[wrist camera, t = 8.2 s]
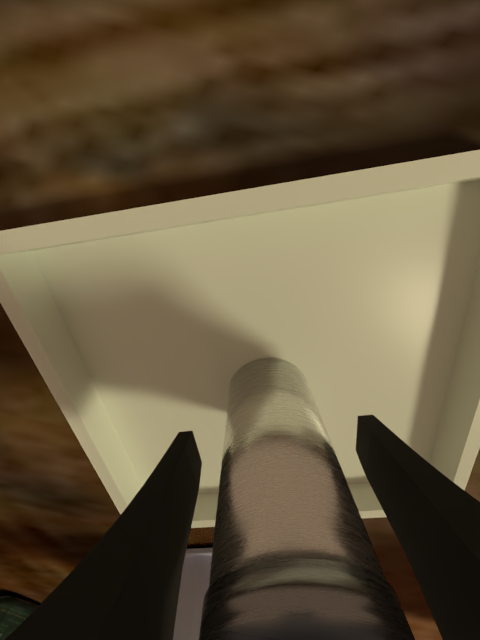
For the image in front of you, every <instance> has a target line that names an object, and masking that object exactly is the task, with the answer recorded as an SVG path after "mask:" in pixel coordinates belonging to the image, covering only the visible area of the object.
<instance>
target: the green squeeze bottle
mask: <svg viewBox="0 0 480 640" xmlns="http://www.w3.org/2000/svg"><path fill="white" fill-rule="evenodd" d="M38 606H39V605H37V604H35V603H33V602H31V601H28V600H24V599H22V598H17V597H12V596H2V597H0V640H4V639H5V638H7V637H8V636H9V635H10V634H11V633H12V632H13V631H14V630H15V629H16V628H17V627H18V626H19V625H20V624H21V623H22V622H23V621H24V620H25V619H26V618H27V617H28V616H29V615H30V614H31V613H32V612H33V611H34V610H35V609H36V608H37V607H38Z"/></svg>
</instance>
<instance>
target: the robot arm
mask: <svg viewBox="0 0 480 640" xmlns="http://www.w3.org/2000/svg"><path fill="white" fill-rule="evenodd" d="M356 453H357V455H358V458H359V460H360V463H361V465H362V468H363V470H364V473H365V475H366V478H367V479H368V481H369V483H370V485H371V487H372V489H373V491H374V493H375V495H376V497H377V499H378V501H379V503H380V505H381V507H382V509H383V511H384V513H385V514H386V516H387V518H388V520H389V522H390V524H391V526H392V528H393V530H394V532H395V534H396V536H397V538H398V540H399V541H400V543H401V545H402V547H403V549H404V551H405V554H406V556H407V558H408V560H409V562H410V564H411V566H412V568H413V571H414V573H415V575H416V578H417V580H418V582H419V585H420V587H421V589H422V591H423V594H424V596H425V598H426V601H427V603H428V605H429V608H430V610H431V612H432V615H433V617H434V620H435V622H436V624H437V627H438V629H439V632H440V634H441V636H442V639H443V640H480V502H479V501H478V500H476V499H475V498H473V497H472V496H471V495H469V494H468V493H467V492H465V491H464V490H463V489H461V488H460V487H459V486H458V485H456V484H455V483H454V482H452V481H451V480H450V479H449V478H447V477H446V476H445V475H443V474H442V473H441V472H440V471H438V470H437V469H436V468H435V467H433V466H432V465H431V464H430V463H429V462H427V461H426V460H425V459H424V458H423V457H421V456H420V455H419V454H418V453H416V452H415V451H414V450H413V449H412V448H411V447H409V446H408V445H407V444H406V443H405V442H404V441H402V440H401V439H400V438H399V437H398V436H397V435H395V434H394V433H393V432H392V431H391V430H390V429H389V428H388V427H386V426H385V425H384V424H383V423H382V422H381V421H380V420H379V419H377V418H376V417H375V416H374V415H363V416H358V421H357V436H356ZM201 466H202V461H201V457H200V454H199V451H198V447H197V444H196V441H195V437H194V434H193V431H184V432H179V433H178V434H177V436H176V437H175V439H174V440H173V442H172V443H171V445H170V446H169V448H168V449H167V451H166V453H165V454H164V456H163V457H162V459H161V460H160V462H159V463H158V465H157V466H156V467H155V469H154V470H153V472H152V473H151V475H150V476H149V478H148V479H147V480H146V482H145V483H144V485H143V486H142V487H141V489H140V490H139V491H138V493H137V494H136V495H135V497H134V498H133V499H132V501H131V502H130V503H129V505H128V506H127V508H126V509H125V510H124V511H123V513H122V514H121V515H120V516H119V518H118V519H117V520H116V521H115V523H114V524H113V525H112V526H111V528H110V529H109V530H108V531H107V532H106V533H105V535H104V536H103V537H102V538H101V539H100V541H99V542H98V543H97V544H96V545H95V546H94V547H93V549H92V550H91V551H90V552H89V553H88V554H87V555H86V556H85V558H84V559H83V560H82V561H81V562H80V563H79V564H78V565H77V566H76V568H75V569H74V570H73V571H72V572H71V573H70V574H69V575H68V576H67V577H66V578H65V579H64V580H63V582H62V583H61V584H60V585H59V586H58V587H57V588H56V589H55V590H54V591H53V592H52V593H51V594H50V595H49V596H48V597H47V598H46V599H45V600H44V601H43V602H42V603H41V604H40V605H39V606H38V607H37V608H36V609H35V610H34V611H33V612H32V613H31V614H30V615H29V616H28V617H27V618H26V619H25V620H24V621H23V622H22V623H21V624H20V625H19V626H18V627H17V628H16V629H15V630H14V631H13V632H12V633H11V634H10V635H9V636H8V637H7V638H5V639H4V640H199V634H200V625H201V616H202V608H203V600H204V596H205V593H206V592H207V590H208V588H209V579H210V570H211V560H212V550H213V548H194V549H187V544H188V539H189V535H190V530H191V525H192V520H193V516H194V511H195V506H196V501H197V496H198V491H199V485H200V476H201Z"/></svg>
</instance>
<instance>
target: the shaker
mask: <svg viewBox="0 0 480 640" xmlns="http://www.w3.org/2000/svg"><path fill="white" fill-rule="evenodd" d="M199 640H415V639H414V636H413V634H412V631H411V629H410V626H409V624H408V621H407V619H406V617H405V614H404V612H403V609H402V607H401V604H400V602H399V600H398V597H397V595H396V593H395V591H394V589H393V587H392V586H391V585H390V584H389V583H388V582H387V581H386V579H385V576H384V574H383V571H382V569H381V566H380V564H379V561H378V559H377V556H376V554H375V551H374V549H373V546H372V544H371V541H370V539H369V536H368V534H367V531H366V529H365V526H364V523H363V521H362V518H361V516H360V513H359V511H358V508H357V506H356V503H355V501H354V498H353V496H352V493H351V491H350V488H349V486H348V483H347V481H346V478H345V476H344V473H343V471H342V468H341V466H340V463H339V461H338V458H337V456H336V453H335V451H334V448H333V446H332V443H331V441H330V438H329V436H328V433H327V430H326V428H325V425H324V423H323V420H322V418H321V415H320V413H319V410H318V408H317V405H316V403H315V400H314V398H313V395H312V393H311V390H310V388H309V385H308V383H307V380H306V378H305V376H304V374H303V373H302V371H301V370H300V369H299V368H298V367H297V366H295V365H294V364H292V363H290V362H288V361H286V360H283V359H279V358H260V359H256V360H253V361H251V362H248V363H247V364H245V365H243V366H242V367H241V368H240V369H239V370H238V371H237V372H236V373H235V374H234V376H233V377H232V379H231V382H230V386H229V395H228V405H227V415H226V425H225V434H224V444H223V454H222V463H221V473H220V483H219V492H218V502H217V512H216V521H215V531H214V541H213V550H212V560H211V570H210V579H209V588H208V590H207V592H206V593H205V596H204V600H203V608H202V616H201V625H200V634H199Z"/></svg>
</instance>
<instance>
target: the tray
mask: <svg viewBox="0 0 480 640" xmlns="http://www.w3.org/2000/svg"><path fill="white" fill-rule="evenodd" d="M0 303H1V305H2V307H3V308H4V310H5V312H6V314H7V315H8V317H9V319H10V321H11V322H12V324H13V326H14V328H15V330H16V331H17V333H18V335H19V337H20V338H21V340H22V342H23V344H24V345H25V347H26V349H27V351H28V352H29V354H30V356H31V358H32V359H33V361H34V363H35V365H36V366H37V368H38V370H39V372H40V374H41V375H42V377H43V379H44V381H45V382H46V384H47V386H48V388H49V389H50V391H51V393H52V395H53V396H54V398H55V400H56V402H57V403H58V405H59V407H60V409H61V411H62V412H63V414H64V416H65V418H66V419H67V421H68V423H69V425H70V426H71V428H72V430H73V432H74V433H75V435H76V437H77V439H78V440H79V442H80V444H81V446H82V447H83V449H84V451H85V453H86V455H87V456H88V458H89V460H90V462H91V463H92V465H93V467H94V469H95V470H96V472H97V474H98V476H99V477H100V479H101V481H102V483H103V484H104V486H105V488H106V490H107V491H108V493H109V495H110V497H111V499H112V500H113V502H114V504H115V506H116V507H117V509H118V511H119V513H120V514H122V513H123V511H124V510H125V509H126V508H127V506H128V505H129V503H130V502H131V501H132V499H133V498H134V497H135V495H136V494H137V493H138V491H139V490H140V489H141V487H142V486H143V485H144V483H145V482H146V480H147V479H148V478H149V476H150V475H151V473H152V472H153V470H154V469H155V467H156V466H157V465H158V463H159V462H160V460H161V459H162V457H163V456H164V454H165V453H166V451H167V449H168V448H169V446H170V445H171V443H172V442H173V440H174V439H175V437H176V436H177V434H178V433H179V432H184V431H193V434H194V437H195V441H196V444H197V447H198V451H199V454H200V457H201V461H202V466H201V476H200V485H199V491H198V496H197V501H196V506H195V511H194V516H193V520H192V525H191V528H200V527H215V521H216V512H217V502H218V492H219V483H220V473H221V463H222V454H223V444H224V434H225V425H226V415H227V405H228V395H229V386H230V382H231V379H232V377H233V376H234V374H235V373H236V372H237V371H238V370H239V369H240V368H241V367H242V366H243V365H245V364H247V363H248V362H251V361H253V360H256V359H260V358H279V359H283V360H286V361H288V362H290V363H292V364H294V365H295V366H297V367H298V368H299V369H300V370H301V371H302V373H303V374H304V376H305V378H306V380H307V383H308V385H309V388H310V390H311V393H312V395H313V398H314V400H315V403H316V405H317V408H318V410H319V413H320V415H321V418H322V420H323V423H324V425H325V428H326V430H327V433H328V436H329V438H330V441H331V443H332V446H333V448H334V451H335V453H336V456H337V458H338V461H339V463H340V466H341V468H342V471H343V473H344V476H345V478H346V481H347V483H348V486H349V488H350V491H351V493H352V496H353V498H354V501H355V503H356V506H357V508H358V511H359V513H360V516H361V518H380V517H387V516H386V514H385V513H384V511H383V509H382V507H381V505H380V503H379V501H378V499H377V497H376V495H375V493H374V491H373V489H372V487H371V485H370V483H369V481H368V479H367V478H366V475H365V473H364V470H363V468H362V465H361V463H360V460H359V458H358V455H357V453H356V436H357V421H358V416H363V415H374V416H375V417H376V418H377V419H379V420H380V421H381V422H382V423H383V424H384V425H385V426H386V427H388V428H389V429H390V430H391V431H392V432H393V433H394V434H395V435H397V436H398V437H399V438H400V439H401V440H402V441H404V442H405V443H406V444H407V445H408V446H409V447H411V448H412V449H413V450H414V451H415V452H416V453H418V454H419V455H420V456H421V457H423V458H424V459H425V460H426V461H427V462H429V463H430V464H431V465H432V466H433V467H435V468H436V469H437V470H438V471H440V472H441V473H442V474H443V475H445V476H446V477H447V478H449V479H450V480H451V481H452V482H454V483H455V484H456V485H458V486H459V487H460V488H461V489H463V490H465V488H466V485H467V482H468V479H469V476H470V473H471V471H472V468H473V465H474V462H475V459H476V456H477V454H478V451H479V448H480V150H475V151H469V152H463V153H457V154H451V155H445V156H439V157H433V158H427V159H422V160H416V161H410V162H404V163H398V164H392V165H386V166H380V167H374V168H368V169H363V170H357V171H351V172H345V173H339V174H333V175H327V176H321V177H315V178H309V179H303V180H298V181H292V182H286V183H280V184H274V185H268V186H262V187H256V188H250V189H244V190H239V191H233V192H227V193H221V194H215V195H209V196H203V197H197V198H191V199H185V200H179V201H174V202H168V203H162V204H156V205H150V206H144V207H138V208H132V209H126V210H120V211H115V212H109V213H103V214H97V215H91V216H85V217H79V218H73V219H67V220H61V221H56V222H50V223H44V224H38V225H32V226H26V227H20V228H14V229H8V230H2V231H0Z"/></svg>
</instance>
